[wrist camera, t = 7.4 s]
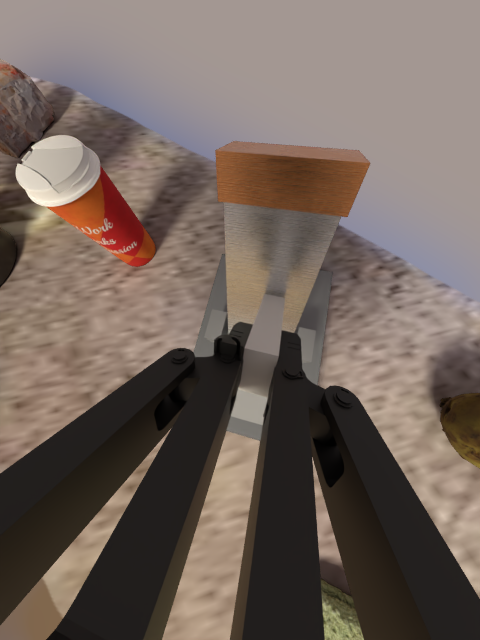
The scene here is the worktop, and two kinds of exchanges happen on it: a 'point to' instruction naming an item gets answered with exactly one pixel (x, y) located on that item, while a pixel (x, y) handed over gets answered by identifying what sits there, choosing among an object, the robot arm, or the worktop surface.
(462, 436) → the potato
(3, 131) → the food item
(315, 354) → the switch block
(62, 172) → the paper cup
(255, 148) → the lever
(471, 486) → the worktop surface
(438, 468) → the worktop surface
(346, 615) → the washcloth
